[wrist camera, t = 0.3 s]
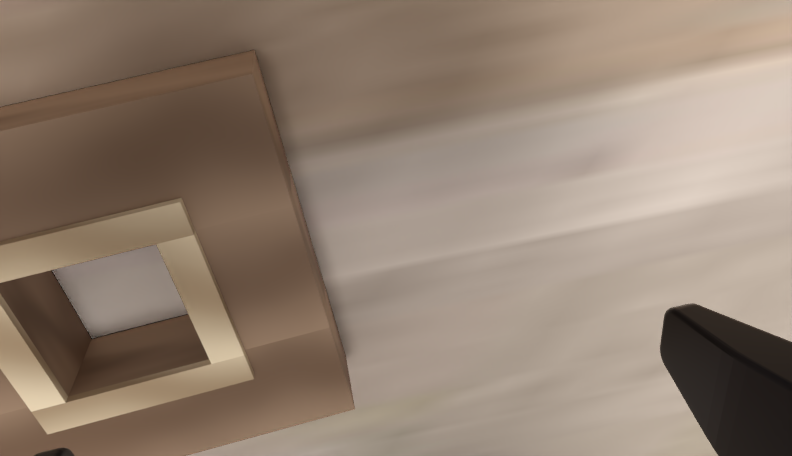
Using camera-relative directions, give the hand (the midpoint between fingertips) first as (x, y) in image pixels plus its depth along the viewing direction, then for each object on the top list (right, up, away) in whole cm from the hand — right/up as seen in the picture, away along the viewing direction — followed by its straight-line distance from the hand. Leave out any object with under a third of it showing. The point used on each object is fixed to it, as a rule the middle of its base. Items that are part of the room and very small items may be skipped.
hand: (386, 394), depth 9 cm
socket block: (-10, +1, +14) cm, 17 cm away
